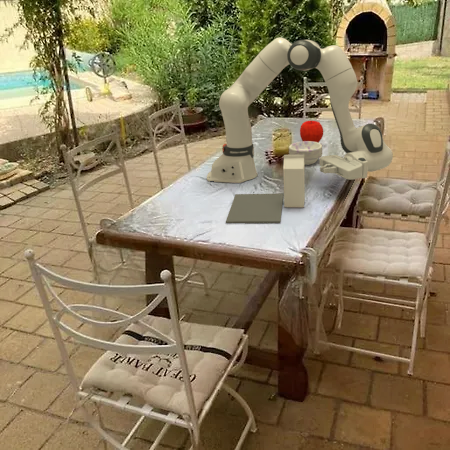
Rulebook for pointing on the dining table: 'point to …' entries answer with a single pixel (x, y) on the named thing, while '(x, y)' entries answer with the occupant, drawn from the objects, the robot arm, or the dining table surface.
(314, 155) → the paper bowls
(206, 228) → the dining table surface
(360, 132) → the robot arm
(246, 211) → the mat
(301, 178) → the milk carton
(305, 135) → the apple
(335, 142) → the dining table surface
